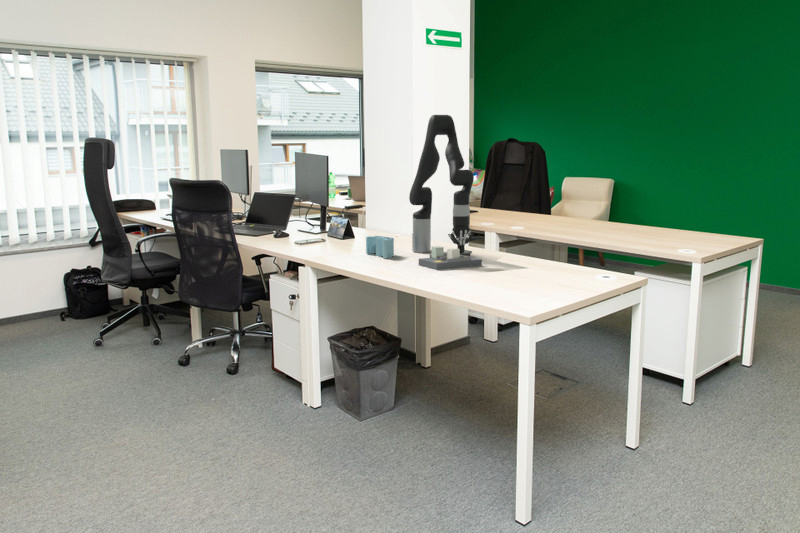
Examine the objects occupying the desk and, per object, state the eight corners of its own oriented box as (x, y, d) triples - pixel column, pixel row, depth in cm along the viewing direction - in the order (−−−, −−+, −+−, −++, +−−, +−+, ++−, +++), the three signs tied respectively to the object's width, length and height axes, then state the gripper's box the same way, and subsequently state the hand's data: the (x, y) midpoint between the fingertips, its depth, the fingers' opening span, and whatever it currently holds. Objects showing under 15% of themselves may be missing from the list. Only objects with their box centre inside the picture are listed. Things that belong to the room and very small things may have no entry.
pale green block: (431, 257, 291) (431, 246, 290) (438, 256, 293) (438, 246, 292) (435, 258, 287) (436, 247, 287) (443, 258, 289) (443, 247, 288)
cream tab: (447, 259, 284) (447, 248, 284) (454, 258, 286) (454, 248, 285) (452, 260, 281) (452, 249, 280) (459, 260, 283) (459, 249, 282)
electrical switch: (445, 250, 311) (461, 245, 315) (447, 260, 312) (462, 255, 317) (456, 252, 303) (472, 247, 307) (458, 262, 304) (473, 258, 309)
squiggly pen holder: (400, 256, 317) (399, 238, 316) (385, 258, 311) (385, 239, 309) (375, 253, 330) (375, 235, 329) (361, 255, 323) (361, 237, 322)
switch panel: (418, 265, 290) (418, 255, 289) (462, 261, 301) (462, 251, 300) (436, 270, 276) (436, 259, 275) (481, 265, 287) (482, 256, 286)
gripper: (468, 213, 288) (468, 251, 291) (444, 214, 282) (444, 253, 285) (478, 214, 282) (477, 253, 285) (453, 216, 276) (453, 255, 279)
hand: (460, 253), depth 285 cm, fingers closed
